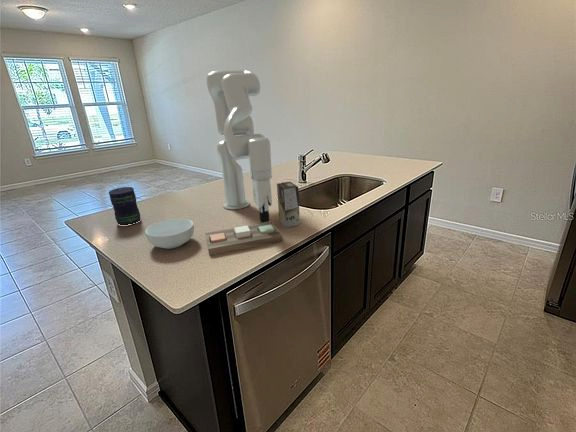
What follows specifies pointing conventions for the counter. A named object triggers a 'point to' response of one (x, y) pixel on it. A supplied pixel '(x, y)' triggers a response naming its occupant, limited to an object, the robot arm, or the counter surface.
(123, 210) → the storage jar
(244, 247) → the tile frame
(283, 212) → the coffee box
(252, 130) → the robot arm
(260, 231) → the sage tile
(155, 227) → the cereal bowl
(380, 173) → the counter surface
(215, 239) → the terracotta tile
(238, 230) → the cream tile
